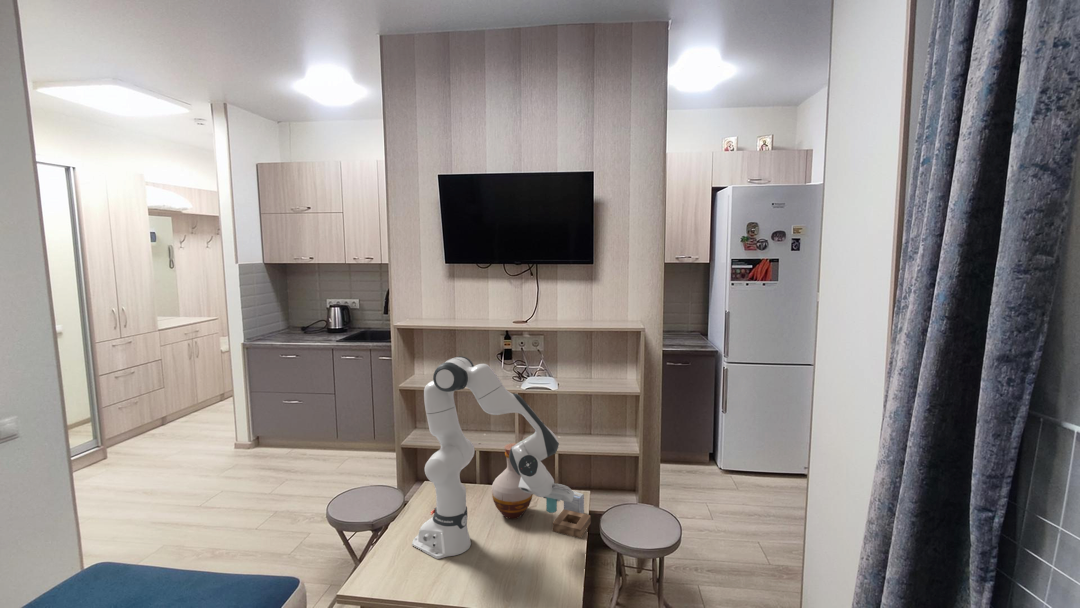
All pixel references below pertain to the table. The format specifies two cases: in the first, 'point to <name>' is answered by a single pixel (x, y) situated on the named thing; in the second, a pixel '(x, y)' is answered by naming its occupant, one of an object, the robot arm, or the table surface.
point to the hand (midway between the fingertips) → (552, 497)
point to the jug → (510, 491)
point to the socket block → (571, 523)
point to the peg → (551, 505)
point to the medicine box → (575, 503)
